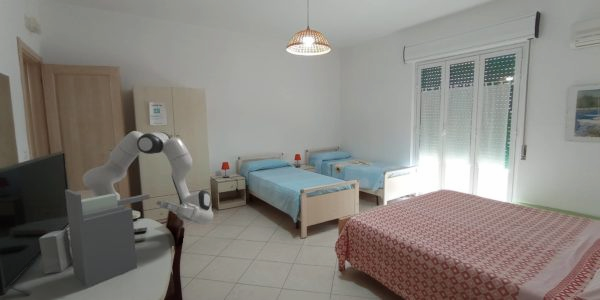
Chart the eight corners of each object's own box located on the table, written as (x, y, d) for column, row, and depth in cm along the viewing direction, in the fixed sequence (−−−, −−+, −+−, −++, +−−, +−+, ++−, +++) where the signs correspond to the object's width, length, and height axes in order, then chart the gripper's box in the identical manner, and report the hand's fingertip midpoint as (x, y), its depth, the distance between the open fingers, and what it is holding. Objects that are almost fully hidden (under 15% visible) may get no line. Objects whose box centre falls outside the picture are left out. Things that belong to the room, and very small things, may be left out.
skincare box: (61, 272, 117) (57, 236, 116) (41, 274, 116) (37, 238, 114) (73, 262, 126) (69, 228, 124) (55, 264, 124) (51, 230, 123)
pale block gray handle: (79, 215, 110) (77, 200, 110) (146, 199, 131) (145, 187, 130) (83, 217, 108) (81, 202, 107) (151, 201, 128) (150, 188, 127)
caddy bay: (74, 276, 114) (64, 189, 110) (123, 258, 128) (116, 181, 124) (86, 288, 106) (76, 195, 102) (137, 268, 120) (130, 185, 116)
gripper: (177, 202, 152) (154, 194, 142) (199, 209, 140) (176, 201, 130) (172, 213, 150) (148, 206, 140) (194, 221, 138) (170, 214, 128)
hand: (162, 204), depth 135 cm, fingers open, 8 cm apart
